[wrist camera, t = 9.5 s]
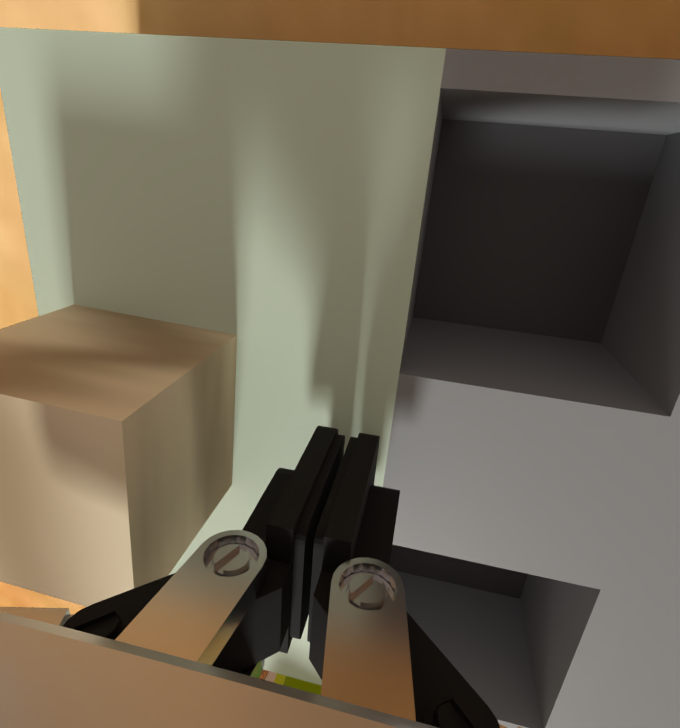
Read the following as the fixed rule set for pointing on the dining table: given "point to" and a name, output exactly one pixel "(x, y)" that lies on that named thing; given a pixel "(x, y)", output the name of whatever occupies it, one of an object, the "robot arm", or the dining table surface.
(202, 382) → the birch block
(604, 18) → the dining table surface
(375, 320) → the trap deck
